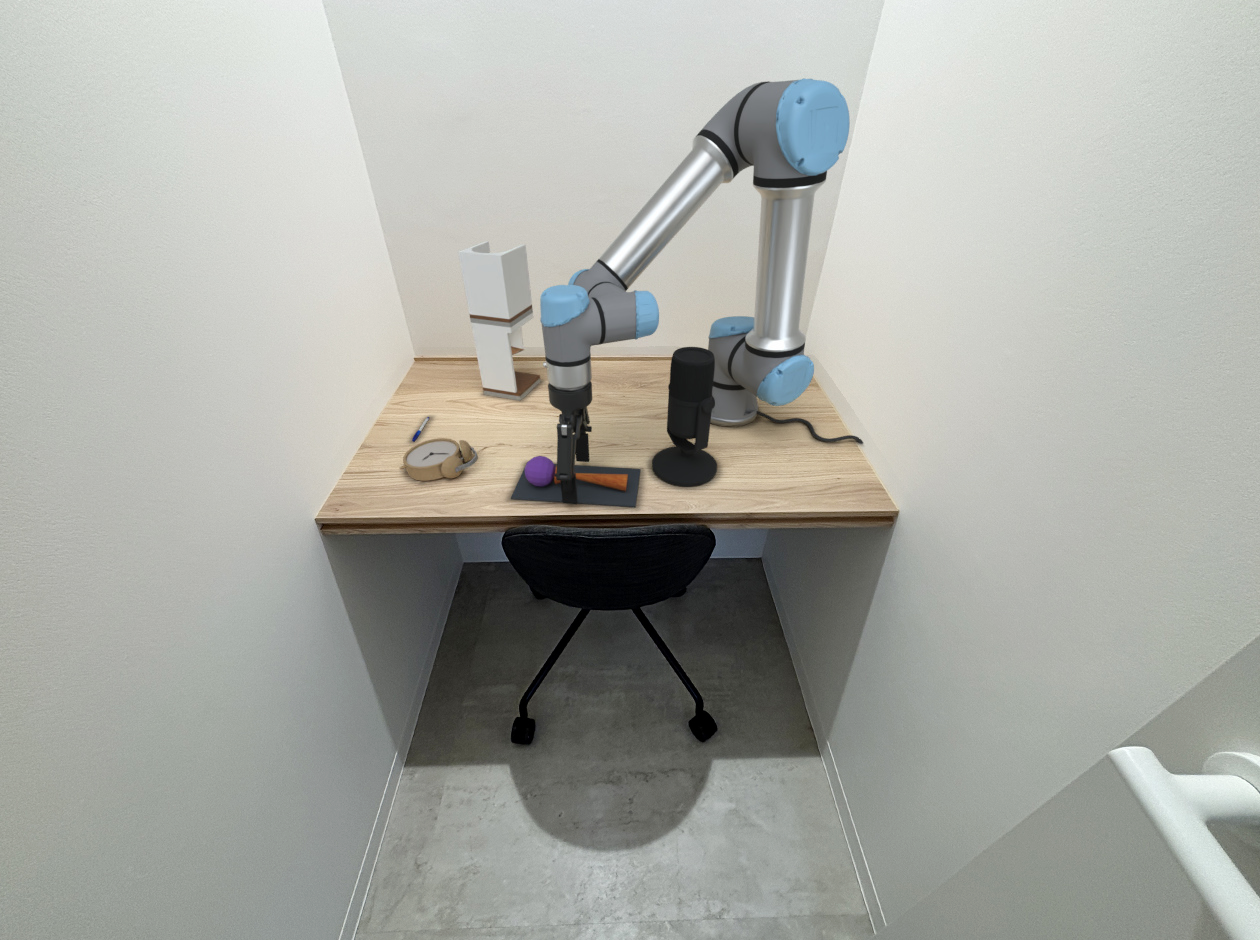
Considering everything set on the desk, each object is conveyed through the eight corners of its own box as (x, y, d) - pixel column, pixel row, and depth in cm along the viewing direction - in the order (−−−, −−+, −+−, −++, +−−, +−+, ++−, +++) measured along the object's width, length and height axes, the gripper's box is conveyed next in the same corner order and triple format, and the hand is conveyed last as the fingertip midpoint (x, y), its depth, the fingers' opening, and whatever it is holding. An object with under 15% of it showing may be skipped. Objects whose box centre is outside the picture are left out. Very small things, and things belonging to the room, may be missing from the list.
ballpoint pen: (416, 442, 113) (414, 438, 112) (412, 442, 113) (410, 438, 112) (430, 418, 121) (429, 415, 121) (426, 418, 121) (425, 415, 121)
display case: (520, 400, 129) (500, 255, 108) (484, 394, 131) (458, 251, 111) (540, 381, 137) (525, 244, 117) (505, 376, 140) (485, 241, 120)
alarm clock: (417, 438, 108) (481, 432, 105) (426, 456, 111) (488, 451, 108) (390, 468, 99) (459, 462, 96) (401, 487, 102) (468, 483, 99)
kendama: (625, 484, 93) (519, 469, 94) (623, 504, 97) (522, 490, 98) (629, 461, 97) (528, 447, 98) (627, 481, 102) (530, 468, 102)
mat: (640, 470, 104) (640, 468, 104) (635, 507, 94) (635, 506, 94) (527, 463, 106) (527, 462, 106) (510, 499, 96) (510, 497, 96)
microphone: (730, 473, 103) (747, 359, 89) (678, 495, 97) (687, 376, 83) (689, 443, 113) (699, 335, 98) (639, 461, 107) (641, 349, 92)
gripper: (563, 351, 96) (570, 444, 109) (529, 416, 76) (543, 521, 89) (601, 353, 96) (604, 446, 108) (578, 419, 76) (585, 524, 88)
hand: (576, 480), depth 98 cm, fingers open, 13 cm apart
